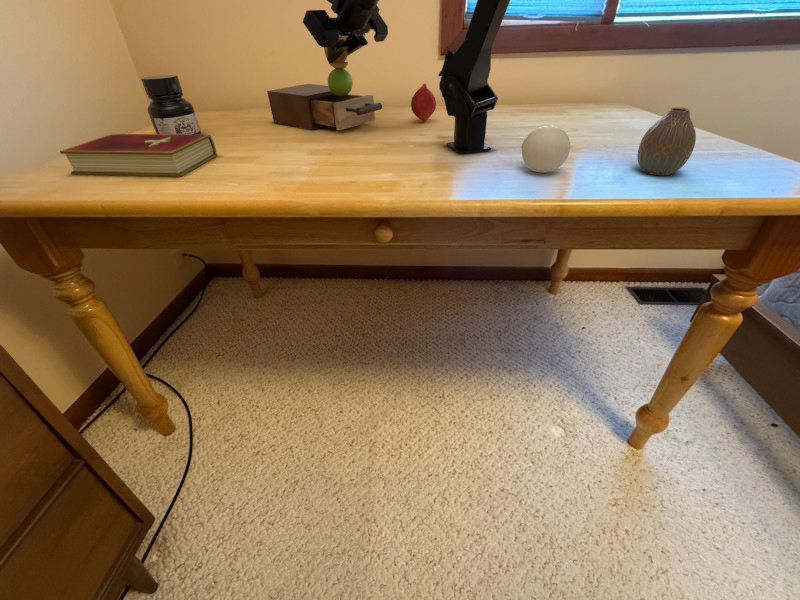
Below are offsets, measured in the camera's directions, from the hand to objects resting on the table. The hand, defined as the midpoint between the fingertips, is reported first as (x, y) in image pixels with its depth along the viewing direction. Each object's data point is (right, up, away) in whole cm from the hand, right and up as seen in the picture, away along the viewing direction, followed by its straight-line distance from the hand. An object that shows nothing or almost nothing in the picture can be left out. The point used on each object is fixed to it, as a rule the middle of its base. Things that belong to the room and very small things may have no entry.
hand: (332, 61), depth 82 cm
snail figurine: (+1, -6, +3) cm, 7 cm away
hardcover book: (-32, -27, -12) cm, 43 cm away
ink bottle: (-35, -15, +3) cm, 38 cm away
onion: (+20, -9, +9) cm, 24 cm away
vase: (+54, -32, -23) cm, 67 cm away
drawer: (+2, -10, +7) cm, 12 cm away
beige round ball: (+37, -31, -21) cm, 53 cm away
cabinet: (-7, -7, +13) cm, 17 cm away
